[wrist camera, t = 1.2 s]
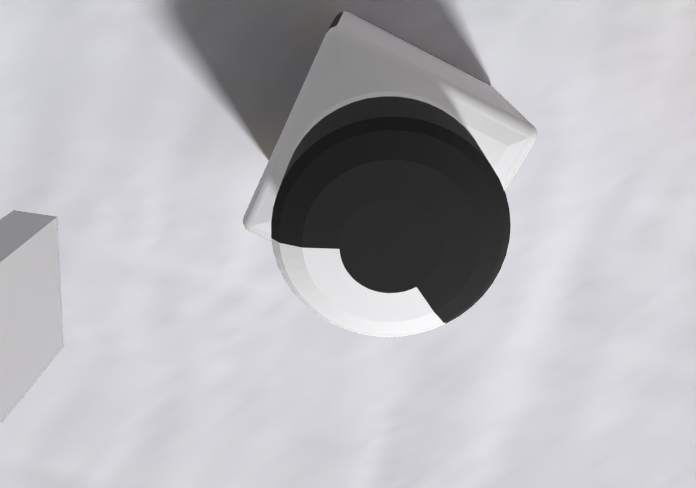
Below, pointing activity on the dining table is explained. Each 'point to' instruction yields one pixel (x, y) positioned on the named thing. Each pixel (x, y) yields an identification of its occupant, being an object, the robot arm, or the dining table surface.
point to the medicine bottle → (389, 185)
